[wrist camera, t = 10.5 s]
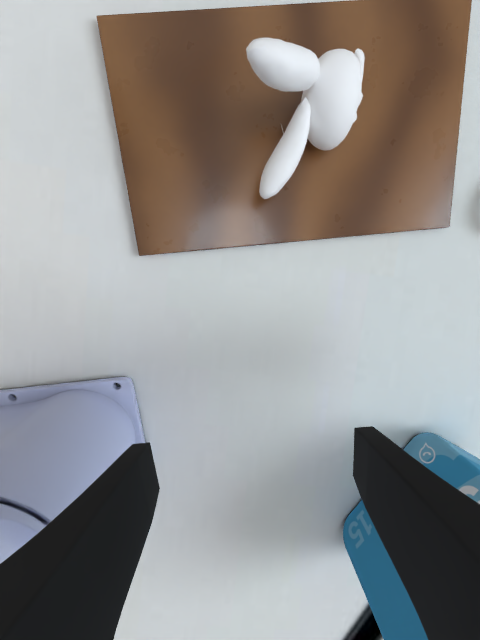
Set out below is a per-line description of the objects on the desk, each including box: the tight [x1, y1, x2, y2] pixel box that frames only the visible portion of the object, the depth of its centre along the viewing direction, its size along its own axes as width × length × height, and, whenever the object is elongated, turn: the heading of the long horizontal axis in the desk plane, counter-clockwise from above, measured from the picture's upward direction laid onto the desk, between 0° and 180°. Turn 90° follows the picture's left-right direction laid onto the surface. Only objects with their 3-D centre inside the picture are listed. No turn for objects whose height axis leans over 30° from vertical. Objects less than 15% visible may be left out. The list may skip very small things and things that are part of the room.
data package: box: [343, 433, 480, 640], centre depth 17 cm, size 12×4×12 cm, turn 149°
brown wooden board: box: [97, 0, 472, 256], centre depth 16 cm, size 20×12×1 cm, turn 95°
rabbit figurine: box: [246, 38, 365, 199], centre depth 14 cm, size 6×4×8 cm
